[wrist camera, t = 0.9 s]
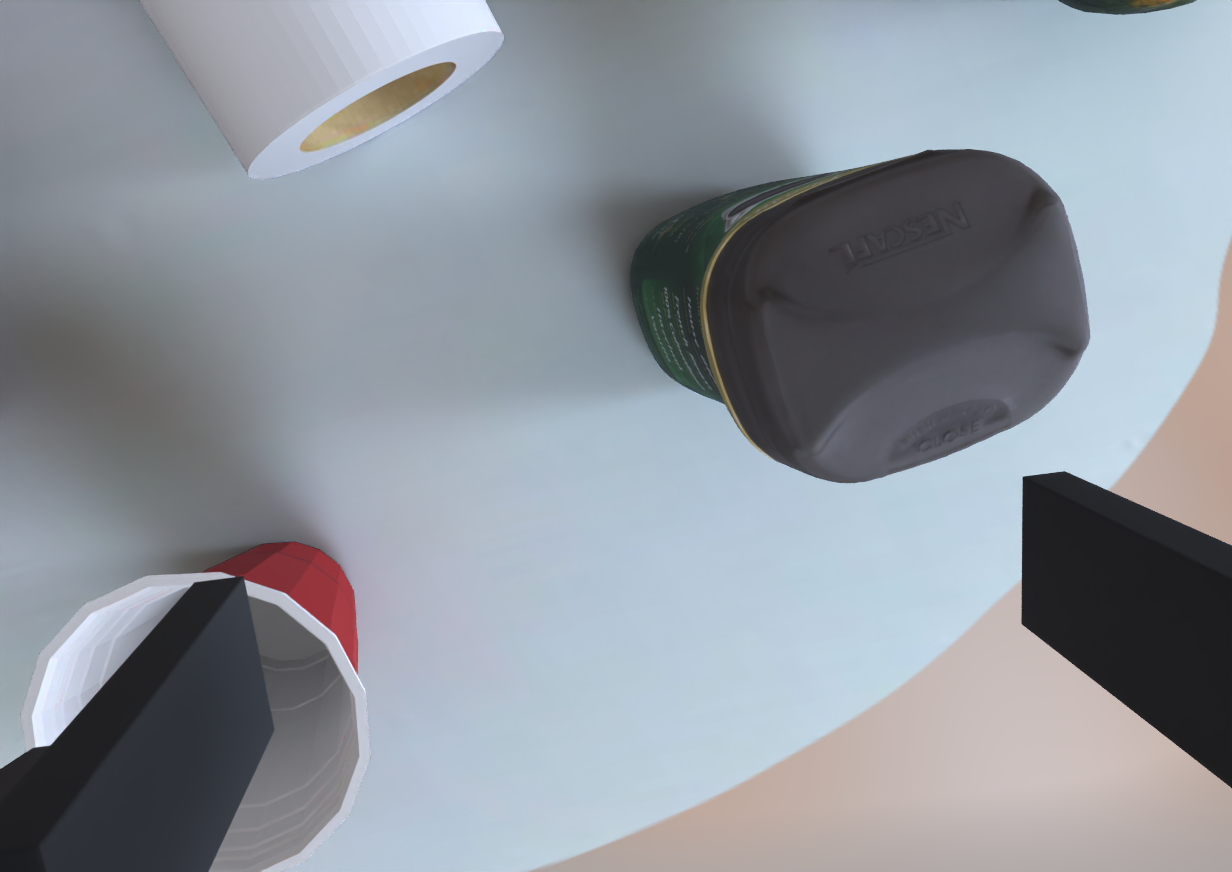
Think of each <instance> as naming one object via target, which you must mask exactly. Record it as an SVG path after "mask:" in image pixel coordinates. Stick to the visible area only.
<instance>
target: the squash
mask: <svg viewBox="0 0 1232 872" xmlns="http://www.w3.org/2000/svg"><path fill="white" fill-rule="evenodd" d="M1058 1H1060V2H1062V3H1064V4H1066V5H1068V6H1070V7H1072V8H1075V9H1078V10H1081V11H1084V12H1092V13H1105V14H1116V15H1117V14H1123V15H1124V14H1137V13H1148V12H1153V11H1159V10H1165V9H1171V8H1175V7H1178V6H1182V5H1185V4H1189V3H1192V2H1194V1H1196V0H1058Z"/></svg>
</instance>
